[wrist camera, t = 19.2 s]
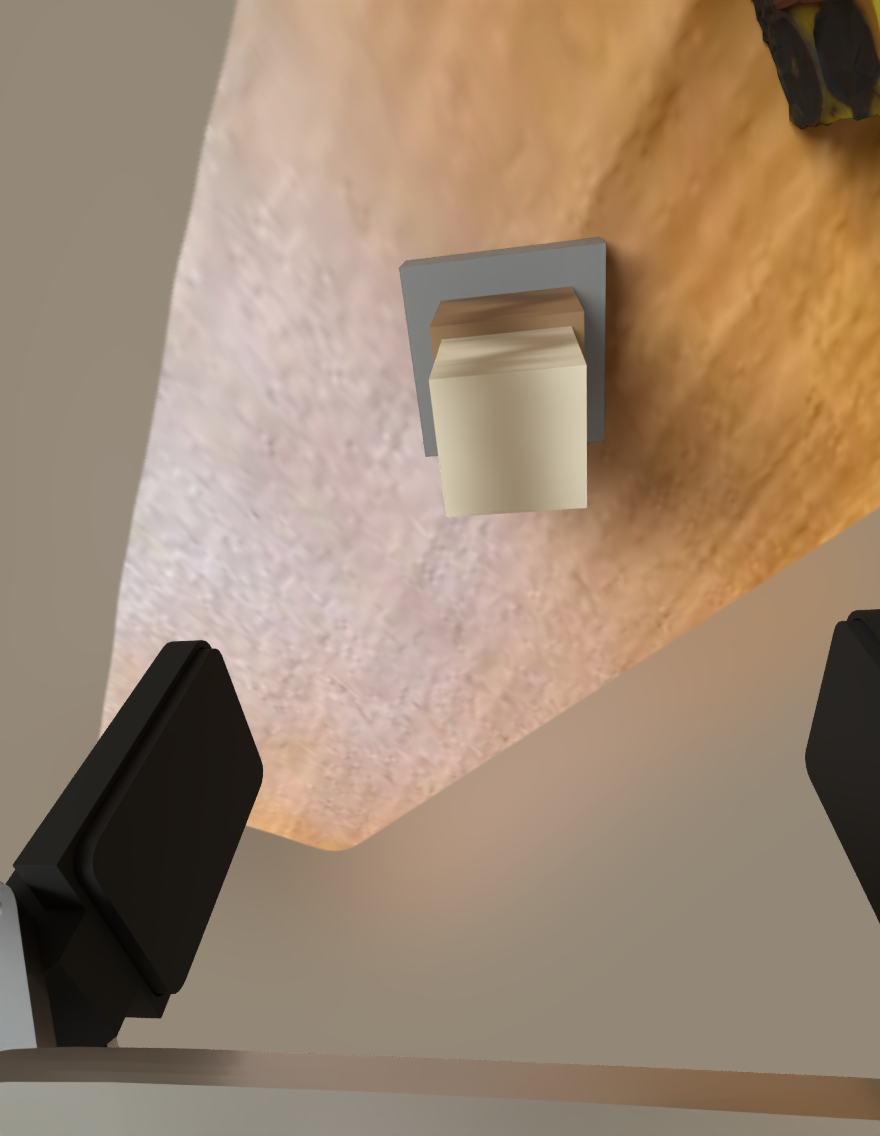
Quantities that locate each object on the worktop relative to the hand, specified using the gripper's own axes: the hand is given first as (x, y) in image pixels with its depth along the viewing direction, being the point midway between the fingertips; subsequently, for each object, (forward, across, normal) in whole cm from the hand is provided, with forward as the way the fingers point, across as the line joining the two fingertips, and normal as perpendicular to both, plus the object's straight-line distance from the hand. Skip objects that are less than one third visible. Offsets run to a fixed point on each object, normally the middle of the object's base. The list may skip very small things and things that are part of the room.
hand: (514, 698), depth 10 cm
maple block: (+22, 0, +2) cm, 22 cm away
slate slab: (+30, 0, +2) cm, 30 cm away
